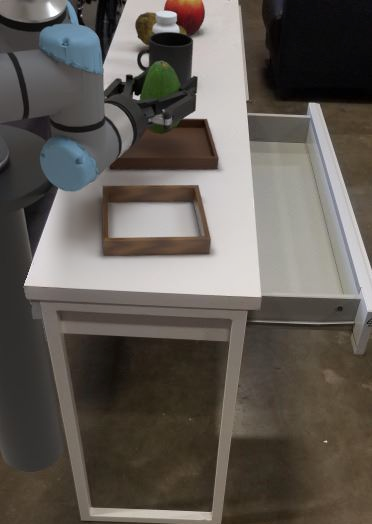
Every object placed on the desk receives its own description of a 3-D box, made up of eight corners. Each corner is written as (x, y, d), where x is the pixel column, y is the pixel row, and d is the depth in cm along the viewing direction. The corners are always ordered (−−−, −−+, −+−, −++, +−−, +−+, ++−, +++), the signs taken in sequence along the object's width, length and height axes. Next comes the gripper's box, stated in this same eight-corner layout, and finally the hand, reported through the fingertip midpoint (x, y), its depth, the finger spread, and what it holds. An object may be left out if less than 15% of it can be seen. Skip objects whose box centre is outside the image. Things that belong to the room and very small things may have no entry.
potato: (188, 56, 141) (189, 19, 136) (135, 54, 140) (135, 17, 134) (186, 44, 147) (187, 8, 141) (135, 43, 146) (134, 6, 140)
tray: (110, 169, 101) (109, 158, 100) (108, 128, 112) (108, 118, 111) (217, 169, 103) (218, 157, 102) (206, 129, 114) (207, 118, 113)
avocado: (139, 140, 103) (138, 67, 94) (140, 122, 108) (139, 51, 99) (184, 142, 103) (187, 70, 94) (183, 123, 108) (186, 53, 100)
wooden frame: (104, 255, 84) (103, 240, 82) (103, 199, 95) (102, 185, 93) (209, 253, 86) (211, 239, 84) (197, 198, 96) (198, 184, 94)
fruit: (155, 28, 155) (156, -16, 147) (189, 23, 159) (191, -20, 152) (177, 40, 149) (178, -5, 141) (211, 35, 153) (215, -10, 146)
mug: (137, 75, 132) (136, 30, 125) (189, 76, 132) (191, 32, 126) (137, 91, 125) (136, 45, 119) (192, 93, 126) (194, 47, 119)
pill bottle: (179, 72, 134) (181, 18, 126) (152, 72, 133) (152, 17, 125) (177, 63, 138) (179, 9, 130) (151, 62, 137) (151, 9, 129)
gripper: (58, 137, 94) (122, 90, 108) (173, 166, 89) (225, 113, 103) (52, 89, 88) (121, 46, 103) (175, 116, 83) (229, 67, 98)
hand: (173, 79), depth 103 cm, fingers closed on avocado, 8 cm apart
